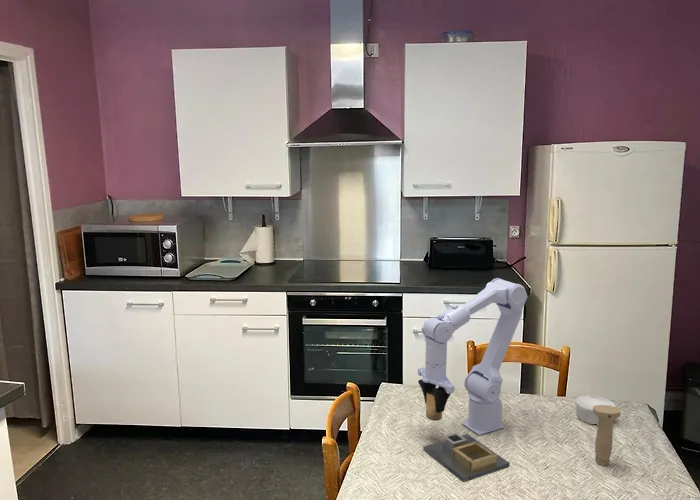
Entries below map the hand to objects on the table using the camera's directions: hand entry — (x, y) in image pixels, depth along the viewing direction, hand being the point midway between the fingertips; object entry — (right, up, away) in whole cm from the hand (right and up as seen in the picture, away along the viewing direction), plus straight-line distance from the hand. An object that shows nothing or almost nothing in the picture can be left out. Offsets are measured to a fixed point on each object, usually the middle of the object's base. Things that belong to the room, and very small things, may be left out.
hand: (434, 407), depth 158 cm
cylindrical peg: (0, -3, 0) cm, 3 cm away
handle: (+42, -12, -10) cm, 45 cm away
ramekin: (+51, -7, +14) cm, 53 cm away
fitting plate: (+7, -11, -8) cm, 15 cm away
